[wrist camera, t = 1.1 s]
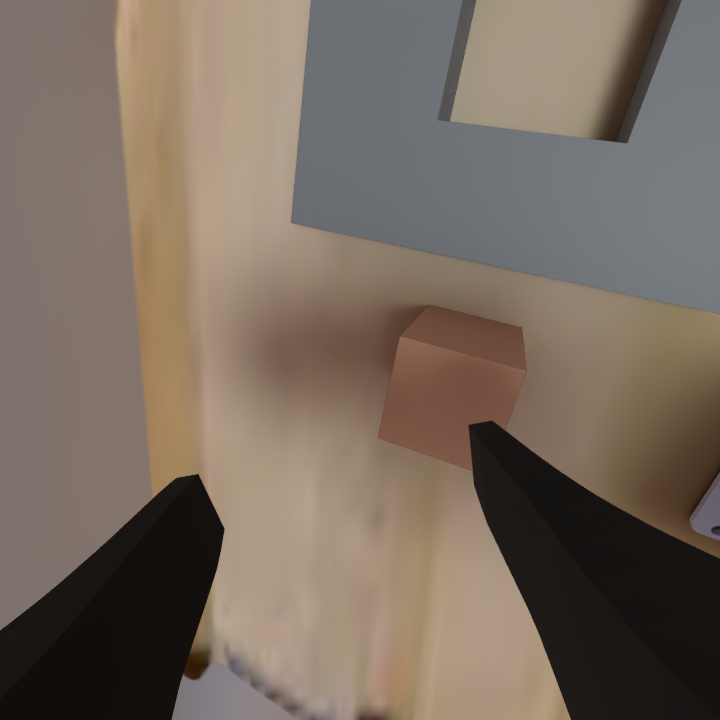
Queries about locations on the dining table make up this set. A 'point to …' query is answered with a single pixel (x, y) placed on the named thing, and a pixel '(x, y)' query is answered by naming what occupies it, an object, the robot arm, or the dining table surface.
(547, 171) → the socket board
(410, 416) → the square peg
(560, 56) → the dining table surface
